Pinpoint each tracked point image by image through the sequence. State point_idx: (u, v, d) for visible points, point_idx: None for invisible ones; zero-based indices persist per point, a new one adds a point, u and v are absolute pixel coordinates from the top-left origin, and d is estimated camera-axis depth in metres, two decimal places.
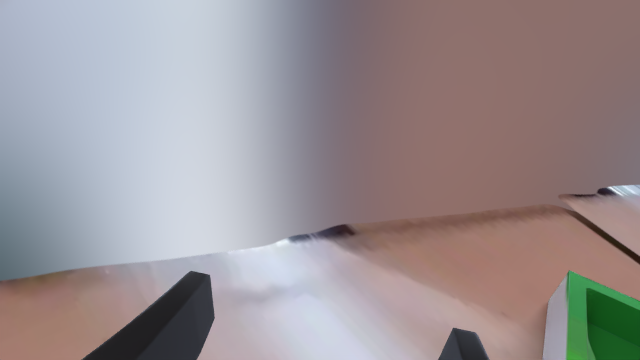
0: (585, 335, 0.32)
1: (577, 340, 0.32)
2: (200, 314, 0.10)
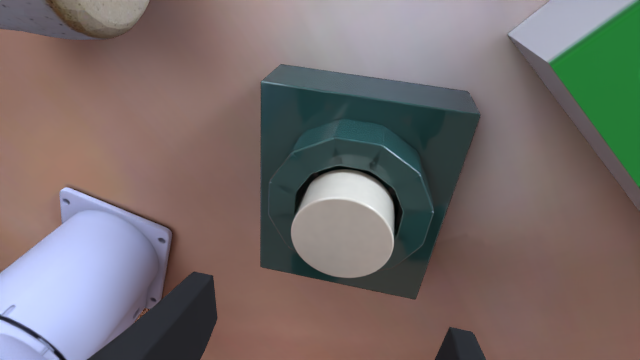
0: None
1: None
2: (203, 315, 0.10)
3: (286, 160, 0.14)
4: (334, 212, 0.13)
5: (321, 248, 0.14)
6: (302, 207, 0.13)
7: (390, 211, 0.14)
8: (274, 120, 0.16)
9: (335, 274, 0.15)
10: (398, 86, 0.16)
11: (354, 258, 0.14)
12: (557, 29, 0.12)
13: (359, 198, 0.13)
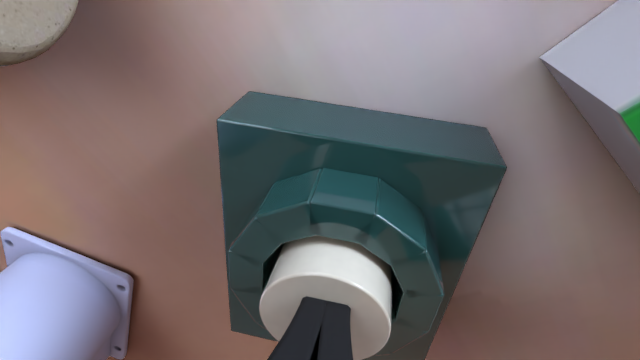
0: None
1: None
2: None
3: (248, 226, 0.11)
4: (313, 290, 0.10)
5: None
6: (272, 281, 0.10)
7: (386, 284, 0.11)
8: (237, 167, 0.12)
9: None
10: (397, 122, 0.13)
11: None
12: (622, 59, 0.08)
13: (345, 273, 0.10)
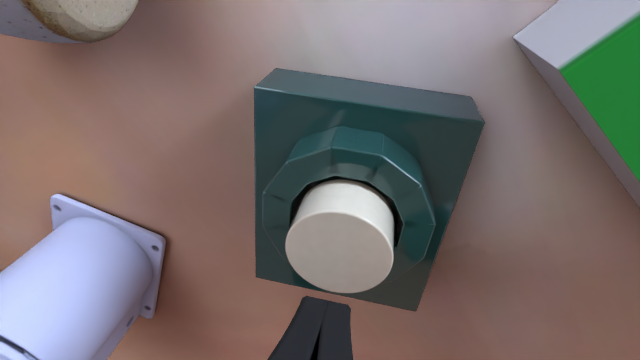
0: None
1: None
2: None
3: (280, 170, 0.14)
4: (330, 226, 0.12)
5: (317, 262, 0.13)
6: (297, 220, 0.13)
7: (389, 224, 0.13)
8: (268, 127, 0.15)
9: (332, 289, 0.14)
10: (398, 91, 0.15)
11: (352, 273, 0.13)
12: (566, 33, 0.11)
13: (357, 211, 0.12)
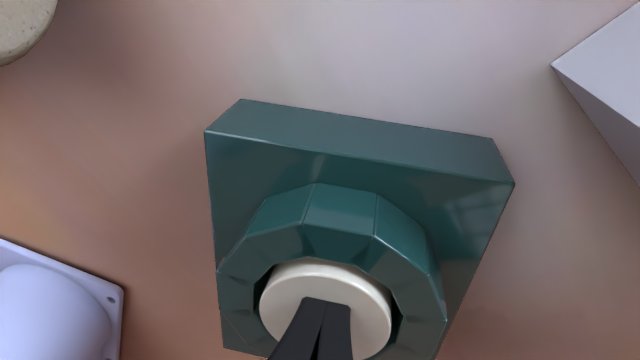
0: None
1: None
2: None
3: (236, 246, 0.10)
4: (313, 290, 0.10)
5: None
6: (272, 281, 0.10)
7: None
8: (226, 181, 0.11)
9: None
10: (397, 133, 0.12)
11: None
12: None
13: (345, 273, 0.10)
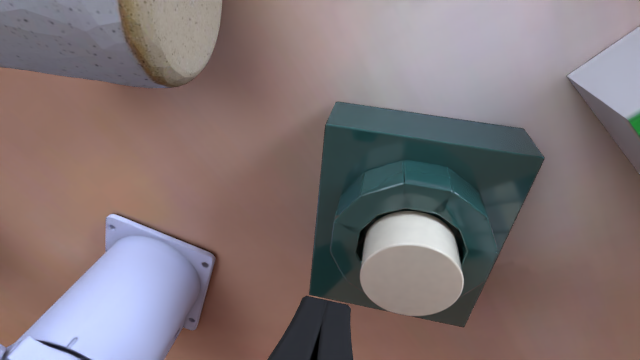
0: None
1: None
2: None
3: (353, 202, 0.15)
4: (406, 257, 0.14)
5: (389, 289, 0.15)
6: (374, 251, 0.14)
7: (458, 253, 0.14)
8: (336, 160, 0.16)
9: (400, 312, 0.15)
10: (456, 125, 0.16)
11: (422, 298, 0.14)
12: (629, 81, 0.12)
13: (432, 243, 0.13)
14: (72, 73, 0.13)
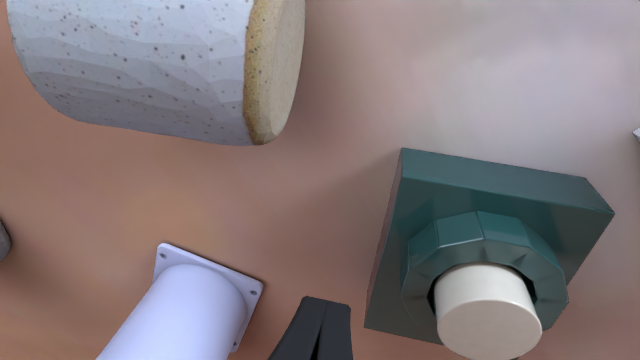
0: None
1: None
2: None
3: (430, 253, 0.16)
4: (488, 310, 0.14)
5: (466, 337, 0.15)
6: (455, 303, 0.15)
7: None
8: (408, 208, 0.17)
9: (473, 358, 0.16)
10: (522, 175, 0.17)
11: (497, 346, 0.15)
12: None
13: (514, 298, 0.14)
14: (174, 135, 0.14)
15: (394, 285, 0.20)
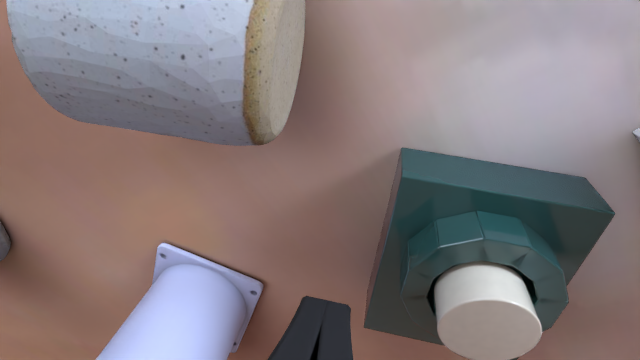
0: None
1: None
2: None
3: (430, 253, 0.16)
4: (488, 310, 0.14)
5: (466, 337, 0.15)
6: (455, 303, 0.15)
7: None
8: (408, 208, 0.17)
9: (473, 358, 0.16)
10: (522, 175, 0.17)
11: (497, 346, 0.15)
12: None
13: (514, 298, 0.14)
14: (174, 135, 0.14)
15: (394, 285, 0.20)
